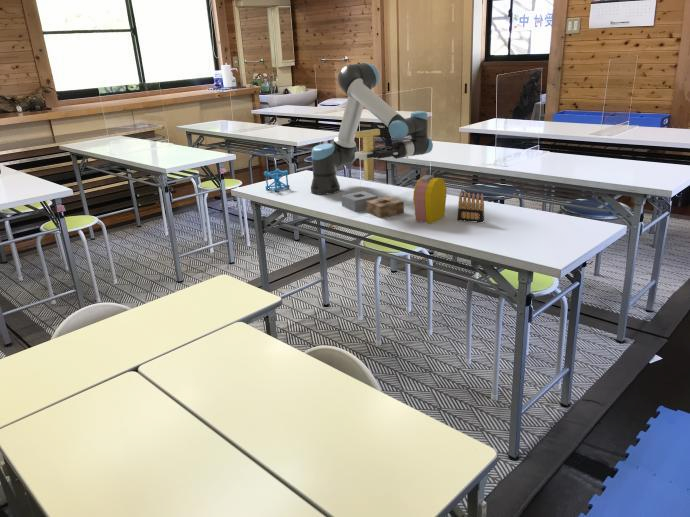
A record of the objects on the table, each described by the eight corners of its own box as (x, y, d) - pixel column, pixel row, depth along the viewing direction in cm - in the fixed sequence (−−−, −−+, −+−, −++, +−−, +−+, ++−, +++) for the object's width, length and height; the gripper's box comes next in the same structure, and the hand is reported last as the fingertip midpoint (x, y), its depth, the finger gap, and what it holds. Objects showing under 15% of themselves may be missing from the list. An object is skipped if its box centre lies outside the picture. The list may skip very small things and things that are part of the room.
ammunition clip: (457, 220, 224) (457, 192, 220) (458, 219, 226) (459, 191, 221) (482, 222, 219) (484, 194, 215) (484, 221, 221) (485, 192, 216)
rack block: (341, 205, 254) (341, 195, 252) (363, 201, 259) (363, 191, 257) (355, 211, 244) (354, 200, 242) (377, 206, 249) (377, 196, 247)
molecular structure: (279, 186, 297) (278, 168, 294) (290, 188, 290) (289, 170, 287) (264, 189, 291) (262, 171, 287) (275, 192, 284) (273, 173, 280)
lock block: (366, 211, 242) (365, 201, 240) (388, 207, 248) (388, 196, 246) (381, 218, 232) (380, 206, 231) (403, 212, 238) (403, 201, 236)
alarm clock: (428, 212, 236) (429, 171, 230) (446, 215, 232) (446, 172, 225) (412, 222, 225) (412, 178, 218) (430, 224, 221) (430, 180, 214)
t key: (356, 180, 241) (354, 131, 233) (377, 176, 245) (376, 128, 238) (360, 181, 238) (358, 132, 230) (381, 177, 243) (380, 129, 235)
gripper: (412, 160, 240) (367, 167, 230) (391, 154, 254) (348, 161, 243) (412, 143, 238) (367, 150, 227) (391, 138, 251) (347, 145, 240)
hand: (357, 156), depth 235 cm, fingers closed on t key, 3 cm apart
